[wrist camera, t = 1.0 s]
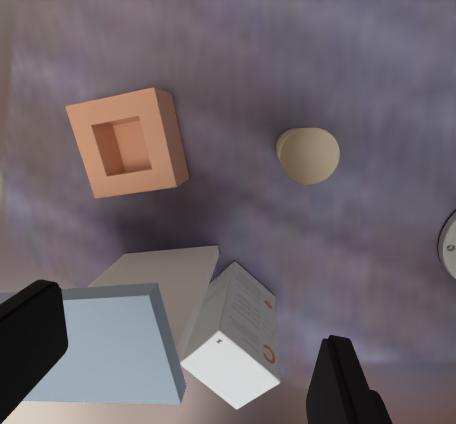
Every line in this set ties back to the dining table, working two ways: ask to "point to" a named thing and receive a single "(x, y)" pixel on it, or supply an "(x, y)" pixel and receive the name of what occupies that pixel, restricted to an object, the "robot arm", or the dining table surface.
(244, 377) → the small box
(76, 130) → the socket
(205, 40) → the dining table surface
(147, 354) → the lidded rectangular box
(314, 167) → the peg
